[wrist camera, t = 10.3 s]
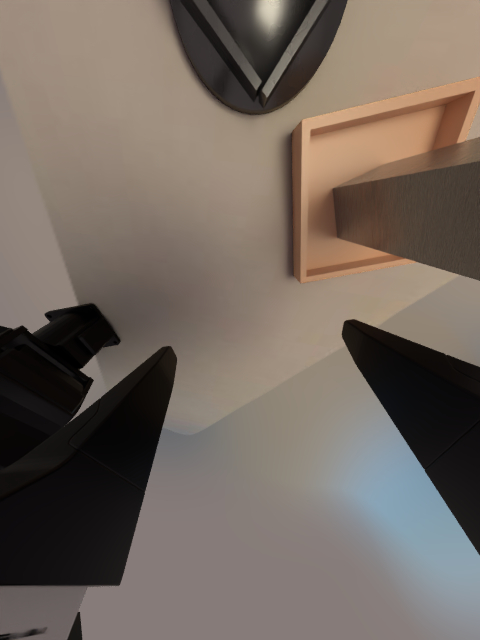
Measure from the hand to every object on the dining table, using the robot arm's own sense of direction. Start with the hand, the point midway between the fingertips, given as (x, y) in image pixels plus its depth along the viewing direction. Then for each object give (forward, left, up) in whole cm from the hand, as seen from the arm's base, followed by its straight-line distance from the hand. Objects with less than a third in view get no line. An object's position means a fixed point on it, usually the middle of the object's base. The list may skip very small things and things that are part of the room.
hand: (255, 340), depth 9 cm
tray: (+12, +4, -13) cm, 18 cm away
